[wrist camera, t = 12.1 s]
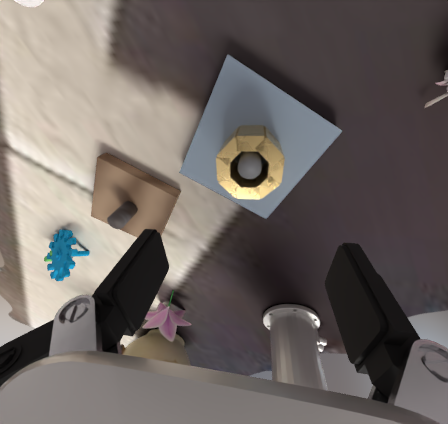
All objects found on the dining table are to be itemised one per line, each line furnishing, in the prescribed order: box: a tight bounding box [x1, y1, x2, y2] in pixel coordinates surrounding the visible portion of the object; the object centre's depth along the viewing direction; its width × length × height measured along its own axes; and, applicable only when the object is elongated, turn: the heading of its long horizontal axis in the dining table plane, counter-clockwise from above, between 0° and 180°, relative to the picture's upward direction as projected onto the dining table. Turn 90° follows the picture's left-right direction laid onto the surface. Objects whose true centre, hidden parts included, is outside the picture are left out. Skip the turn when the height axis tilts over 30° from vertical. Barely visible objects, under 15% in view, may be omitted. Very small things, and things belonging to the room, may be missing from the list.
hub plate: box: [179, 55, 342, 219], centre depth 22 cm, size 14×14×6 cm
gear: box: [44, 230, 89, 281], centre depth 40 cm, size 11×6×10 cm
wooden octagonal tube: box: [216, 125, 285, 199], centre depth 21 cm, size 7×7×5 cm
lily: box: [142, 290, 192, 342], centre depth 46 cm, size 12×12×10 cm
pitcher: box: [121, 329, 191, 366], centre depth 53 cm, size 22×24×25 cm
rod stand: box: [91, 153, 181, 237], centre depth 30 cm, size 12×12×6 cm
